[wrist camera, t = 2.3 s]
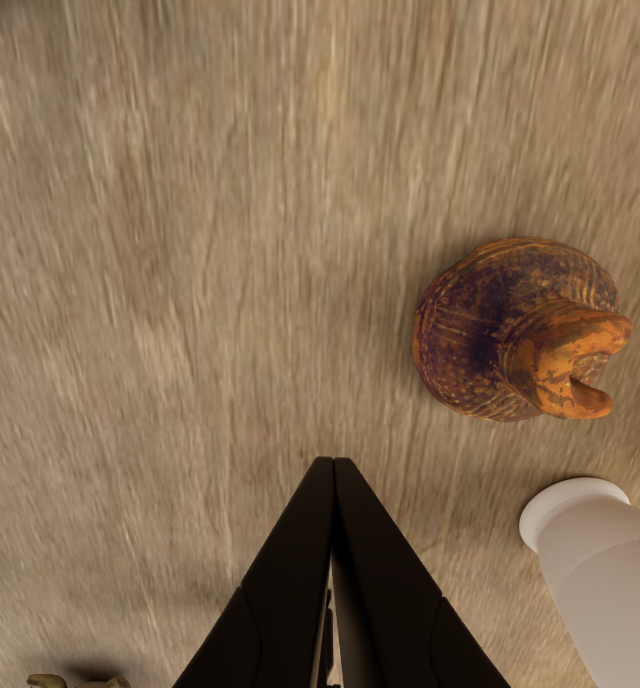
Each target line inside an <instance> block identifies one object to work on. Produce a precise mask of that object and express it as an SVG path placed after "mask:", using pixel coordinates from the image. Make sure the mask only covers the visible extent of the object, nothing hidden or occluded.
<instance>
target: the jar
mask: <svg viewBox="0 0 640 688" xmlns="http://www.w3.org/2000/svg"><path fill="white" fill-rule="evenodd" d="M519 531H520V535H521V537H522V539H523V541H524V542H525V543H526V545H527V546H528V547H529V548H530V549H532V550H533V551H534V552H536V553H537V554H538V558H539V563H540V567H541V571H542V574H543V577H544V580H545V583H546V585H547V588H548V590H549V592H550V595H551V597H552V599H553V601H554V603H555V605H556V607H557V609H558V611H559V612H560V614H561V617H562V619H563V622H564V624H565V626H566V629H567V631H568V633H569V635H570V637H571V639H572V642H573V644H574V646H575V648H576V650H577V652H578V654H579V656H580V658H581V660H582V661H583V663H584V665H585V667H586V669H587V671H588V673H589V674H590V676H591V678H592V680H593V681H594V683H595V685H596V687H597V688H640V509H639V508H637V507H634V506H632V505H630V502H629V500H628V498H627V497H626V495H625V494H624V492H623V491H622V490H621V489H620V488H619V487H617V486H616V485H614V484H613V483H611V482H608V481H606V480H602V479H598V478H589V477H583V478H573V479H569V480H565V481H562V482H559V483H556V484H554V485H552V486H550V487H548V488H546V489H544V490H543V491H541V492H540V493H539V494H537V495H536V496H535V497H534V498H533V499H532V500H531V501H530V502H529V503H528V504H527V506H526V507H525V509H524V510H523V512H522V515H521V517H520V522H519Z"/></svg>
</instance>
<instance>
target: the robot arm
mask: <svg viewBox="0 0 640 688" xmlns="http://www.w3.org/2000/svg"><path fill="white" fill-rule="evenodd" d="M330 559H331V565H332V577H333V586H334V596H335V606H336V616H337V625H338V635H339V645H340V655H341V664H342V674H343V684H344V688H511V686H510V685H509V684H508V683H507V681H506V680H505V679H504V677H503V676H502V675H501V674H500V672H499V671H498V670H497V668H496V667H495V666H494V665H493V663H492V662H491V661H490V659H489V658H488V657H487V655H486V654H485V652H484V651H483V650H482V648H481V647H480V645H479V644H478V643H477V641H476V640H475V638H474V637H473V636H472V634H471V633H470V631H469V630H468V629H467V627H466V626H465V624H464V623H463V622H462V620H461V619H460V617H459V616H458V614H457V613H456V611H455V610H454V608H453V607H452V606H451V604H450V603H449V601H448V600H447V598H446V597H442V591H441V590H440V588H439V587H438V585H437V584H436V582H435V581H434V579H433V578H432V577H431V575H430V574H429V572H428V571H427V569H426V568H425V566H424V565H423V563H422V562H421V560H420V559H419V558H418V556H417V555H416V553H415V552H414V550H413V549H412V547H411V546H410V544H409V543H408V541H407V540H406V539H405V537H404V536H403V534H402V533H401V531H400V530H399V528H398V527H397V525H396V524H395V522H394V521H393V520H392V518H391V517H390V515H389V514H388V512H387V511H386V509H385V508H384V506H383V505H382V503H381V502H380V501H379V499H378V498H377V496H376V495H375V493H374V492H373V490H372V489H371V487H370V486H369V484H368V483H367V482H366V480H365V479H364V477H363V476H362V474H361V473H360V471H359V470H358V468H357V467H356V466H355V464H354V463H353V461H352V460H351V459H350V458H343V457H335V458H334V460H333V458H332V457H322V456H318V457H316V458H315V459H314V461H313V463H312V464H311V466H310V468H309V470H308V471H307V473H306V475H305V476H304V478H303V480H302V481H301V483H300V485H299V486H298V488H297V490H296V491H295V493H294V495H293V496H292V498H291V500H290V501H289V503H288V505H287V506H286V508H285V510H284V511H283V513H282V515H281V516H280V518H279V520H278V521H277V523H276V525H275V526H274V528H273V530H272V531H271V533H270V535H269V536H268V538H267V540H266V541H265V543H264V545H263V546H262V548H261V550H260V551H259V553H258V555H257V556H256V558H255V560H254V561H253V563H252V565H251V566H250V568H249V570H248V571H247V573H246V575H245V576H244V578H243V580H242V581H241V587H240V586H239V587H238V588H237V589H236V591H235V593H234V594H233V596H232V598H231V599H230V601H229V603H228V604H227V606H226V608H225V609H224V611H223V612H222V614H221V616H220V617H219V619H218V620H217V622H216V623H215V625H214V627H213V628H212V630H211V631H210V633H209V634H208V636H207V638H206V639H205V641H204V642H203V644H202V645H201V647H200V648H199V650H198V651H197V653H196V654H195V655H194V657H193V658H192V660H191V661H190V663H189V664H188V665H187V667H186V668H185V670H184V671H183V672H182V674H181V675H180V677H179V678H178V680H177V681H176V682H175V684H174V685H173V687H172V688H341V685H339V684H334V685H333V686H331V685H327V680H328V678H329V675H330V673H331V670H332V668H333V612H332V610H331V609H330V608H328V606H329V603H330V600H331V590H329V589H328V580H329V571H330Z"/></svg>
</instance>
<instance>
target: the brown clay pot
mask: <svg viewBox="0 0 640 688" xmlns="http://www.w3.org/2000/svg"><path fill="white" fill-rule="evenodd" d="M619 309H620V307H619V297H618V292H617V290H616V287H615V284H614V282H613V280H612V278H611V276H610V275H609V273H608V272H607V271H606V270H604V269H603V268H602V267H601V266H600V265H599V264H598V263H597V262H596V261H595V260H593V259H592V258H591V257H589V256H588V255H586V254H585V253H583V252H581V251H579V250H577V249H574V248H572V247H570V246H568V245H566V244H563V243H561V242H558V241H554V240H549V239H543V238H534V237H522V238H508V239H501V240H497V241H495V242H493V243H488V244H485V245H482V246H479V247H477V248H476V249H475V250H474V251H473V252H472V253H471V254H470V255H469V256H467V257H466V258H464V259H463V260H461V261H459V262H457V263H456V264H455V265H453V266H452V267H451V268H449V269H447V270H445V271H444V272H442V273H441V274H439V275H438V276H437V277H436V278H435V279H434V280H433V282H432V284H431V285H430V286H429V287H428V288H427V290H426V291H425V293H424V295H423V296H422V298H421V300H420V302H419V305H418V308H417V310H416V312H415V315H414V319H413V328H412V332H411V333H412V335H411V347H412V351H413V359H414V362H415V365H416V368H417V370H418V372H419V374H420V377H421V379H422V381H423V382H424V384H425V385H426V387H427V388H428V390H429V391H430V392H431V393H432V395H433V396H435V397H436V398H437V399H438V400H439V401H440V402H442V403H443V404H445V405H446V406H448V407H449V408H451V409H453V410H454V411H456V412H458V413H461V414H464V415H469V416H471V417H474V418H478V419H483V420H491V421H498V422H514V421H520V420H525V419H528V418H531V417H535V416H539V415H541V414H544V413H546V414H549V415H551V416H554V417H557V418H560V419H573V418H576V419H592V418H593V419H595V418H601V417H603V416H605V415H607V414H609V413H610V412H611V409H612V407H613V402H612V399H611V398H610V396H609V395H608V394H606V393H605V392H603V391H601V390H598V389H595V388H592V387H590V386H589V385H590V384H591V383H592V381H593V379H594V377H596V376H597V375H598V374H599V372H600V370H601V369H603V368H604V367H605V365H606V362H607V360H608V358H609V357H610V355H613V354H615V353H617V352H618V351H619V350H620V349H622V348H623V347H624V346H625V344H626V343H627V342H628V340H629V338H630V337H631V335H632V332H633V325H632V322H631V321H630V320H629V319H627V318H626V317H624V316H623V315H620V314H619ZM520 332H521V333H520ZM519 340H520V341H519ZM527 390H528V391H527Z"/></svg>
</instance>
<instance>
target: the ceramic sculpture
mask: <svg viewBox="0 0 640 688" xmlns="http://www.w3.org/2000/svg"><path fill="white" fill-rule="evenodd" d="M27 684H28V685H29V686H31V688H67V685H66V682H65V680H64V679H63V678H62V677H60V676H58V675H53V674H34V675H30V676H29V677H28V678H27ZM75 688H131V686H130V684H129V683H128V681H127V680H126V679H125V678H124V677H115V678H113V679H111V680H109V681H108V682H102V681H91V682H85V683H82V684H80V685H78V686H77V687H75Z"/></svg>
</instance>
